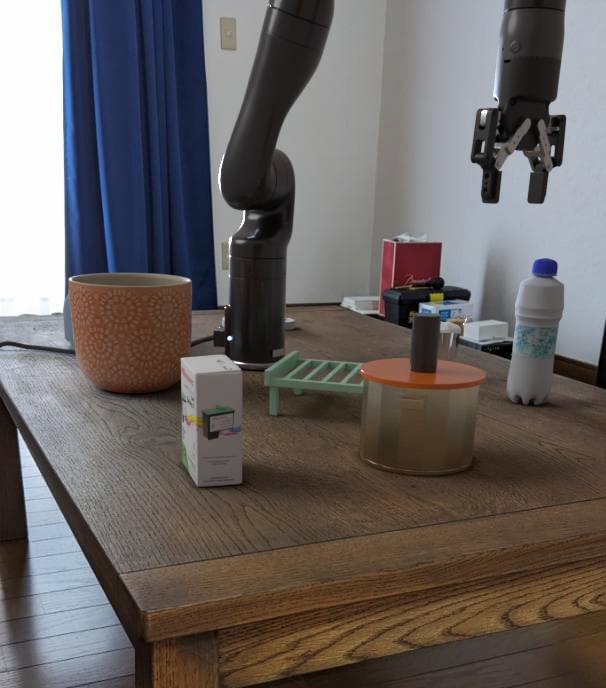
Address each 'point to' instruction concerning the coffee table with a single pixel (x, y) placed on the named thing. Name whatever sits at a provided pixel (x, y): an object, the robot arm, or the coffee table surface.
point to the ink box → (212, 420)
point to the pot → (418, 429)
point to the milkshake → (448, 341)
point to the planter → (131, 329)
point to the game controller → (288, 323)
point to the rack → (309, 377)
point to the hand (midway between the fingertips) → (513, 203)
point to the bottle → (536, 334)
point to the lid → (423, 363)
